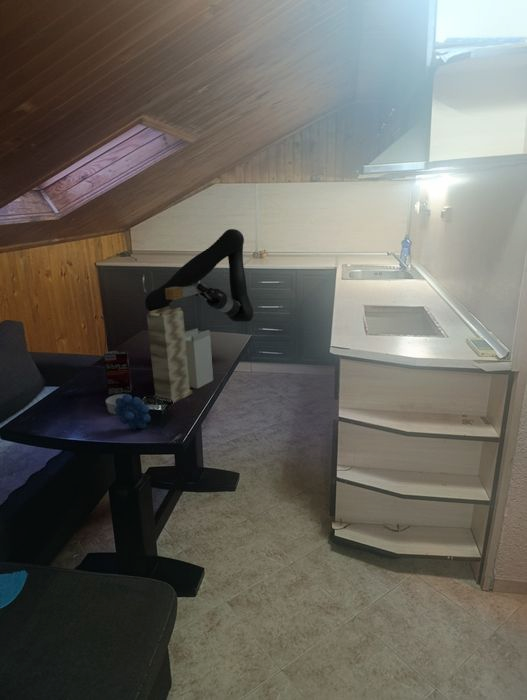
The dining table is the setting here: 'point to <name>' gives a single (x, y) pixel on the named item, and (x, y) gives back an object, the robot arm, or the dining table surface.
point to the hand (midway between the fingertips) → (194, 285)
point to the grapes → (132, 411)
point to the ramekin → (113, 402)
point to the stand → (168, 353)
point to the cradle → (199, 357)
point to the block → (181, 291)
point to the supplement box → (117, 371)
